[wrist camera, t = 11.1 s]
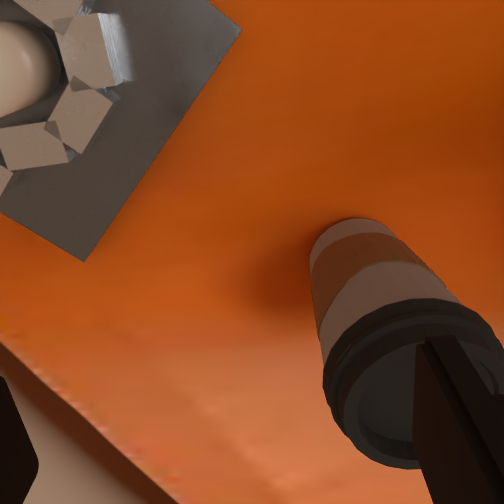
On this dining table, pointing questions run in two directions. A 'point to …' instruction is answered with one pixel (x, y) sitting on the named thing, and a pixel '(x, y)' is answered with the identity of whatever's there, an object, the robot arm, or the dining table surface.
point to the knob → (25, 66)
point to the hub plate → (137, 124)
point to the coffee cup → (385, 334)
